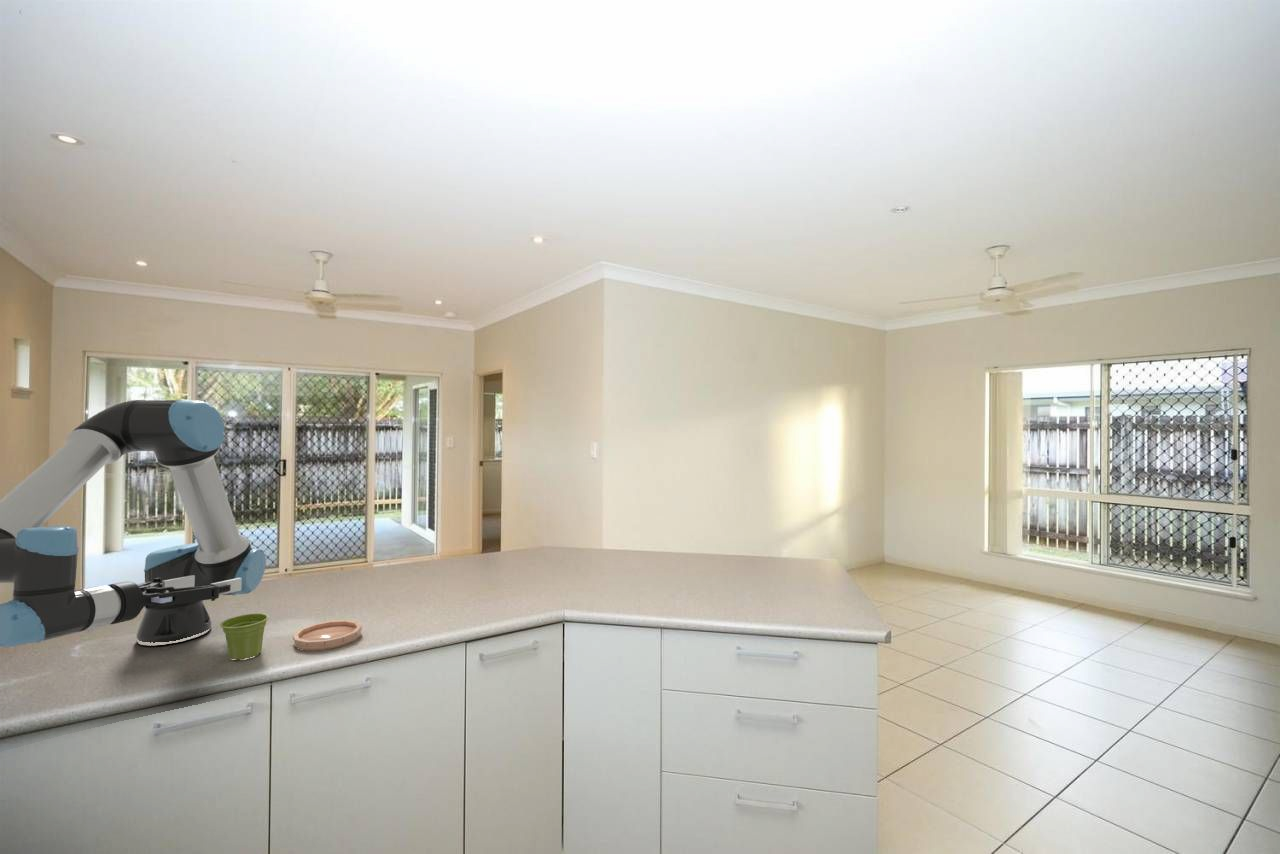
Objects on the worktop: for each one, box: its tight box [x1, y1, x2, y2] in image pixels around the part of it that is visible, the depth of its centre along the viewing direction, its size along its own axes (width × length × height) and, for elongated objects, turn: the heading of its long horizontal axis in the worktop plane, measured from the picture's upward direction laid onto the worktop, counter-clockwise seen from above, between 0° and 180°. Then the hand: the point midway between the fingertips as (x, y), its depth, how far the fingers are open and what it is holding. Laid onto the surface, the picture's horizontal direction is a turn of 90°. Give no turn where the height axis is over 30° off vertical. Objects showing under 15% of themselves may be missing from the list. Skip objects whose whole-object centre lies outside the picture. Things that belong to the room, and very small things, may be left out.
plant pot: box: [219, 613, 269, 659], centre depth 136 cm, size 9×9×9 cm
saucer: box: [292, 619, 363, 652], centre depth 147 cm, size 15×15×2 cm
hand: (216, 582), depth 129 cm, fingers open, 13 cm apart
